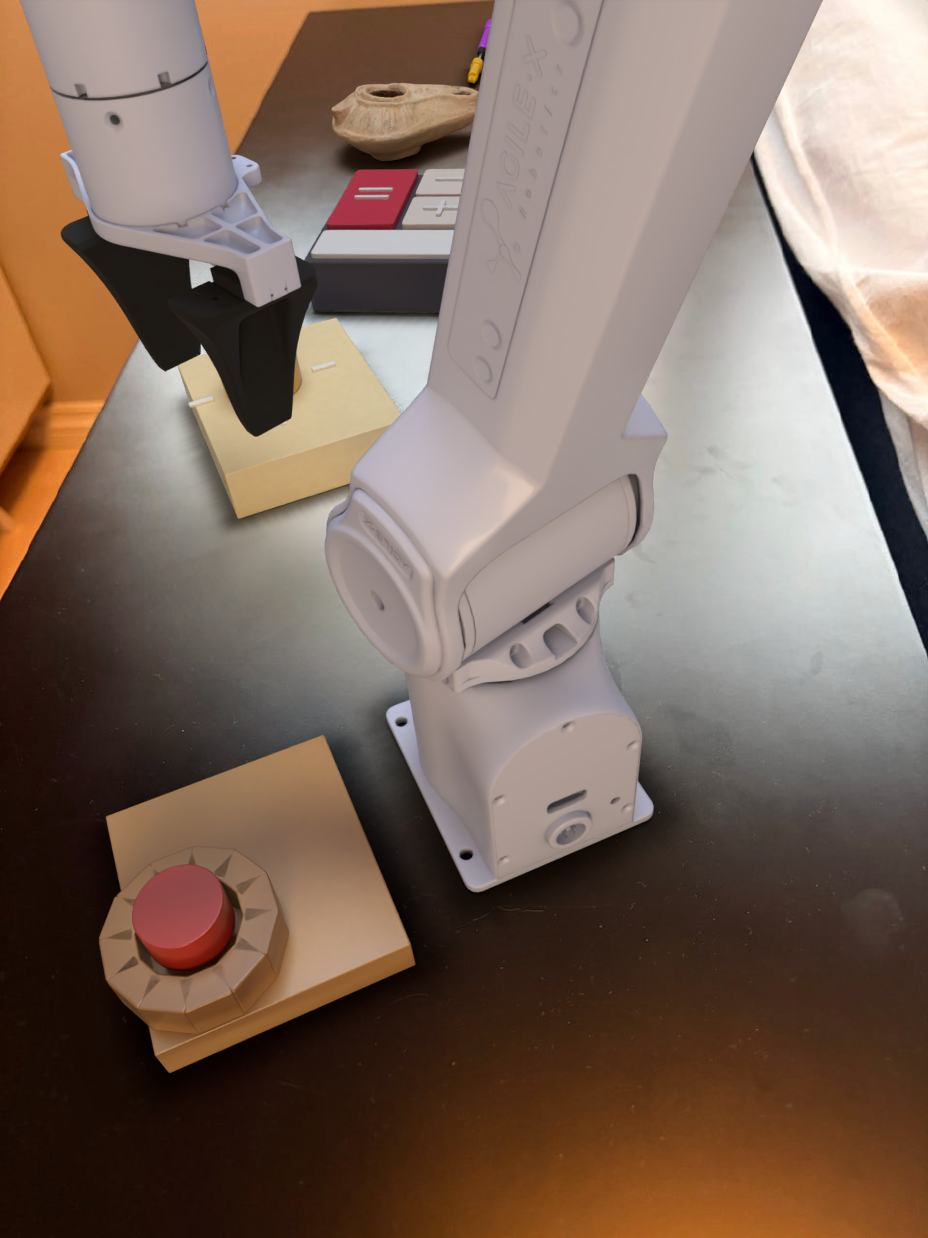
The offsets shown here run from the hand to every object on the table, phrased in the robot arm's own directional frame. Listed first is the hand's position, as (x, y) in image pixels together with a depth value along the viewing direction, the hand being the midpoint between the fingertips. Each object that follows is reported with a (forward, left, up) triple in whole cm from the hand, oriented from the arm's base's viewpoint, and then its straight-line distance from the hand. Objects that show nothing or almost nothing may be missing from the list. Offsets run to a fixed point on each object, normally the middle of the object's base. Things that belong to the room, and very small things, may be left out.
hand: (222, 391), depth 46 cm
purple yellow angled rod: (+59, -40, -9) cm, 71 cm away
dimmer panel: (+8, -4, -9) cm, 12 cm away
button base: (-20, +6, -9) cm, 23 cm away
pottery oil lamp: (+42, -25, -9) cm, 49 cm away
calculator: (+24, -17, -9) cm, 31 cm away
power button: (-22, +8, -6) cm, 24 cm away
